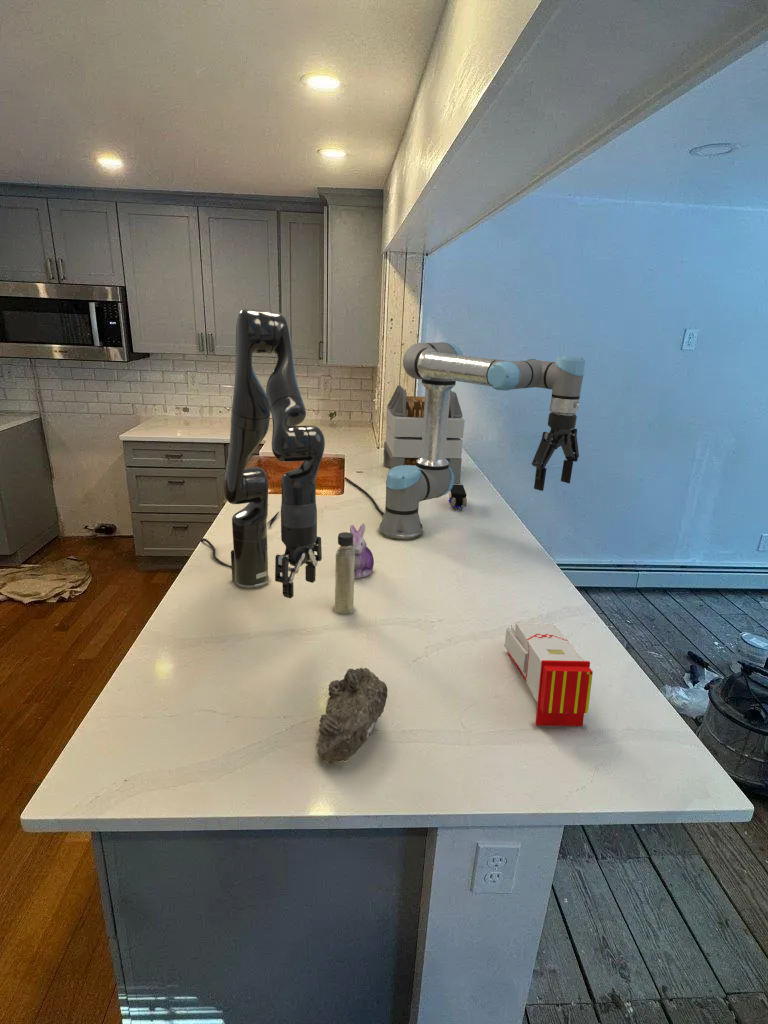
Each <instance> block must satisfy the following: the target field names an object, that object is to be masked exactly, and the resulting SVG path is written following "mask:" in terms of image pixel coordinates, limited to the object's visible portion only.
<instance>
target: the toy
mask: <svg viewBox="0 0 768 1024" xmlns="http://www.w3.org/2000/svg"><path fill="white" fill-rule="evenodd" d="M503 645H504V647H505V649H506V650H507V655H508V656H509V658H510V659H511V662H513V664H514V666H515V667H516V669H517V670H518V672H519V673H520V675H521V676H522V679H523V680H524V681H525V683H526V686H527V687H528V689H529V690H530V693H531V694H532V696H533V698H534V700H535V701H536V703H537V704H536V714H535V722H534V723H535V726H537V727H541V726H542V727H583V726H584V719H585V715H586V714H587V715H588V714H589V706H590V705H589V704H590V699H591V691H592V683H593V682H592V681H593V674H594V673H593V672H594V671H593V670H592V669H591V668H590V667H591V661H590V660H584V659H583V658H582V657H581V655H580V654H579V653H578V651H577V650H576V649H575V648H574V647H573V645H572V644H571V643H570V642H569V640H568V639H567V638H566V636H564V633H562V632H561V630H560V629H559V628H558V627H557V625H556V624H555V623H553V622H515V624H511V625H510V628H506V630H505V638H504V644H503Z"/></svg>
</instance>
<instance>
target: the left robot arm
mask: <svg viewBox="0 0 768 1024" xmlns="http://www.w3.org/2000/svg"><path fill="white" fill-rule="evenodd" d="M253 354H268V355H273V354H274V355H276V359H277V360H276V363H275V366H274V368H273V369H272V371H271V373H270V375H269V377H268V379H267V382H266V387H265V389H264V387H263V386H262V383H261V382H260V380H259V378H258V377H257V374H256V372H255V369H254V367H253ZM231 403H232V404H231V412H230V413H231V415H230V416H231V417H230V434H229V445H228V453H227V459H226V464H225V470H224V471H225V472H224V477H223V494H224V497H225V499H226V501H227V502H228V503H230V504H231V505H243V504H247V505H246V506H245V507H243V508H242V509H240V510H238V511H237V512H236V513H234V514H233V515H232V517H231V528H232V529H231V530H232V545H233V547H232V548H233V549H231V551H230V563H231V565H229V564H227V563H225V562H223V561H221V560H220V559H219V558H218V557H217V556H216V547H215V546H214V545H213V544H212V542H211V541H210V540H208V539H207V538H201V539H200V542H201V543H203V541H204V542H206V543H207V545H209V546H210V548H211V549H212V557H213V559H214V560H215V561H216V562H217V563H218V564H220V565H221V566H224V567H226V568H230V569H231V582H232V583H234V585H235V586H237V587H239V588H241V589H247V590H253V589H258V588H263V587H265V586H266V585H267V584H268V583H269V581H270V580H269V579H270V577H269V554H268V553H269V552H268V549H269V548H268V524H267V523H268V522H267V521H268V517H269V516H268V514H269V509H268V508H269V481H268V476H267V474H266V471H265V470H264V469H263V468H262V467H260V466H252V467H246V465H247V463H248V460H249V458H250V457H251V455H252V454H253V453H254V451H256V449H257V448H258V447H259V445H260V444H261V443H262V442H263V440H264V439H265V437H266V435H267V434H268V432H269V429H270V421H271V418H272V433H271V434H272V435H271V451H272V454H273V456H274V457H275V458H276V459H277V460H278V461H280V462H283V463H293V462H302V463H301V465H300V466H299V467H296V468H295V469H292V470H289V471H286V472H284V473H283V474H282V476H281V483H280V484H281V485H280V486H281V487H280V488H281V503H280V504H281V505H280V539H281V542H282V544H283V545H284V546H285V550H284V553H283V554H279V553H278V554H277V553H276V555H275V561H274V563H275V565H274V581H275V582H277V583H280V584H282V596H283V597H284V598H287V599H293V598H294V580H295V576H296V574H298V573H299V571H300V568H301V567H302V566H303V565H305V568H304V569H305V571H304V572H305V581H306V582H308V583H312V584H314V582H316V576H317V574H316V573H317V570H316V567H317V566H318V562H321V561H322V560H323V553H322V551H323V550H322V537H321V536H318V508H317V498H316V497H317V495H316V494H317V493H316V492H317V491H316V490H317V489H316V487H317V478H318V473H319V469H320V465H321V462H322V460H323V457H324V456H323V455H324V451H325V447H326V440H325V435H324V433H323V431H322V430H321V428H320V427H318V426H316V425H310V424H309V425H300V424H302V423H303V422H304V420H305V419H306V417H307V411H306V407H305V403H304V399H303V396H302V393H301V391H300V388H299V383H298V378H297V374H296V366H295V360H294V352H293V346H292V339H291V333H290V327H289V324H288V321H287V319H286V317H285V316H284V314H283V313H281V312H279V311H272V310H262V309H251V308H250V309H249V308H248V309H247V308H244V309H241V310H240V311H239V312H238V316H237V318H236V324H235V372H234V385H233V396H232V402H231ZM315 553H316V554H315ZM289 565H290V566H292V567H290V566H289ZM289 573H290V574H289Z"/></svg>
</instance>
